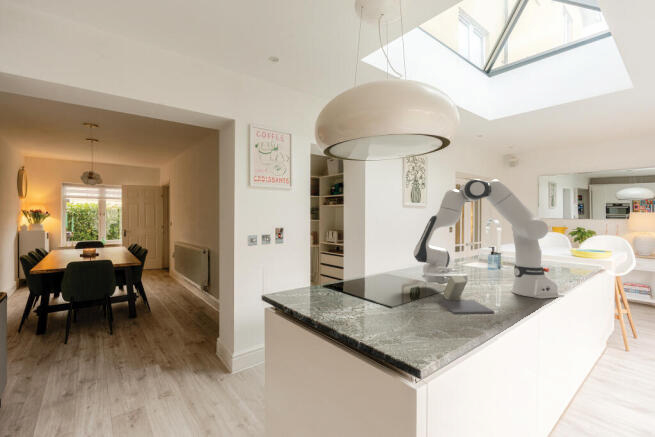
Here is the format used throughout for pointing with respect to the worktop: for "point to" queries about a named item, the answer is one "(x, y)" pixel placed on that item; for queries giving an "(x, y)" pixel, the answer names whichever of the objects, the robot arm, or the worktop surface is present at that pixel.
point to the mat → (464, 307)
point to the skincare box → (455, 287)
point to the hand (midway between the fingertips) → (452, 281)
